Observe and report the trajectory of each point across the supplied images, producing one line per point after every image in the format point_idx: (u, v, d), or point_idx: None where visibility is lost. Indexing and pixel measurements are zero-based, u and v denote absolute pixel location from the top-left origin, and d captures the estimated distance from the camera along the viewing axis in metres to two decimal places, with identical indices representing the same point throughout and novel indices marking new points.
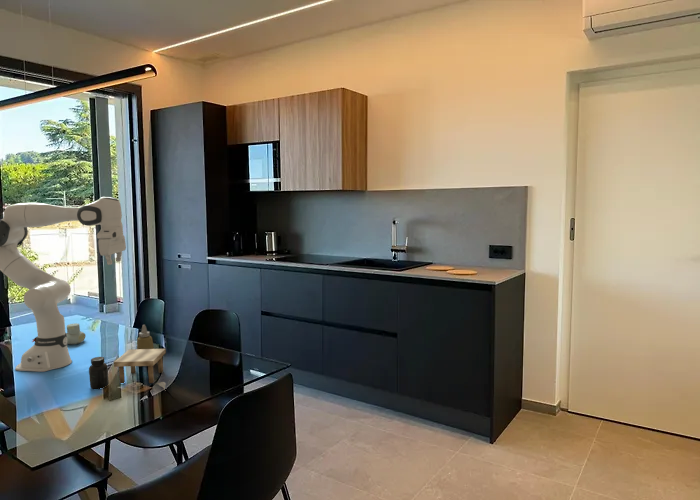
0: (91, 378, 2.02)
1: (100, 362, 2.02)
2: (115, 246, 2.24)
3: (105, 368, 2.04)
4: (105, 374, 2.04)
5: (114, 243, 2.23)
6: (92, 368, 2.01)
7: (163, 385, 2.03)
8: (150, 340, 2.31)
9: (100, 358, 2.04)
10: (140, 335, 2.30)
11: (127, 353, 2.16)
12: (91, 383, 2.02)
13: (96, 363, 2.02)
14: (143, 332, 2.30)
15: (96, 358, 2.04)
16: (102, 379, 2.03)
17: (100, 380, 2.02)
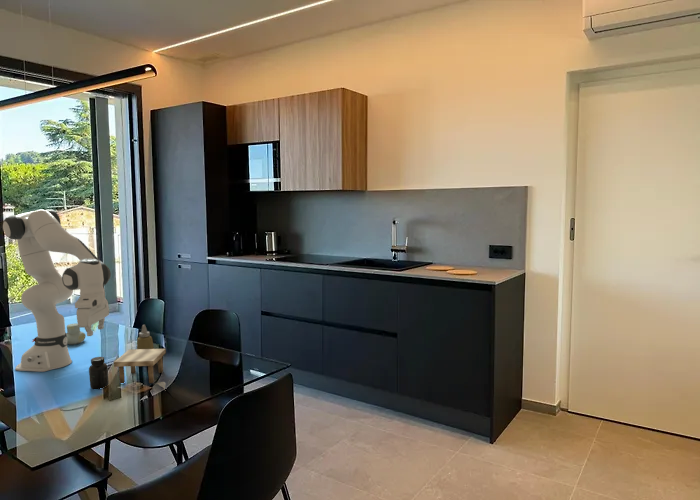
0: (91, 378, 2.02)
1: (100, 362, 2.02)
2: (96, 314, 2.00)
3: (105, 368, 2.04)
4: (105, 374, 2.04)
5: (95, 311, 1.99)
6: (92, 368, 2.01)
7: (163, 385, 2.03)
8: (150, 340, 2.31)
9: (100, 358, 2.04)
10: (140, 335, 2.30)
11: (127, 353, 2.16)
12: (91, 383, 2.02)
13: (96, 363, 2.02)
14: (143, 332, 2.30)
15: (96, 358, 2.03)
16: (102, 379, 2.03)
17: (100, 380, 2.02)
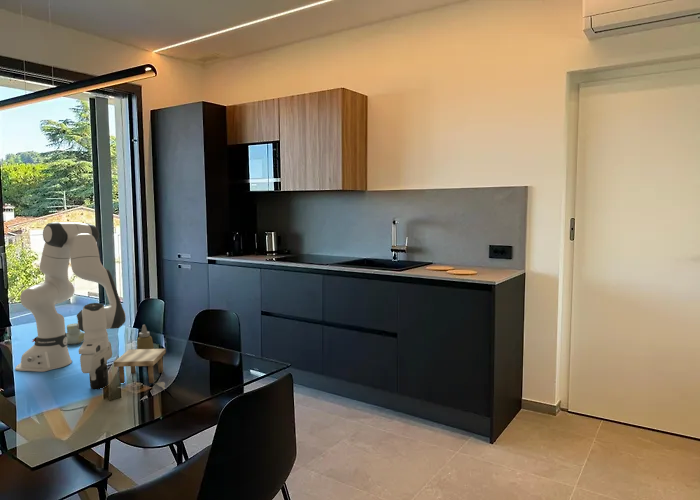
0: None
1: None
2: (99, 359, 2.02)
3: (105, 368, 2.04)
4: (105, 374, 2.04)
5: (98, 355, 2.01)
6: None
7: (162, 385, 2.03)
8: (150, 340, 2.31)
9: None
10: (140, 335, 2.30)
11: (127, 353, 2.16)
12: (91, 383, 2.02)
13: None
14: (143, 332, 2.30)
15: None
16: (102, 379, 2.03)
17: (100, 380, 2.02)
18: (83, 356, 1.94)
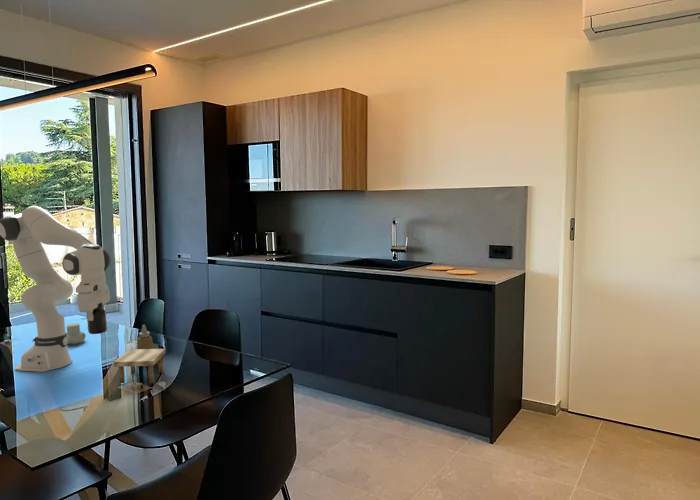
0: (89, 323, 1.99)
1: (98, 306, 2.00)
2: (97, 299, 1.99)
3: (103, 313, 2.01)
4: (103, 319, 2.01)
5: (96, 296, 1.99)
6: None
7: (163, 385, 2.03)
8: (150, 340, 2.31)
9: None
10: (140, 335, 2.30)
11: (127, 353, 2.16)
12: (89, 327, 2.00)
13: None
14: (143, 332, 2.30)
15: None
16: (101, 324, 2.00)
17: (99, 324, 2.00)
18: (80, 295, 1.92)
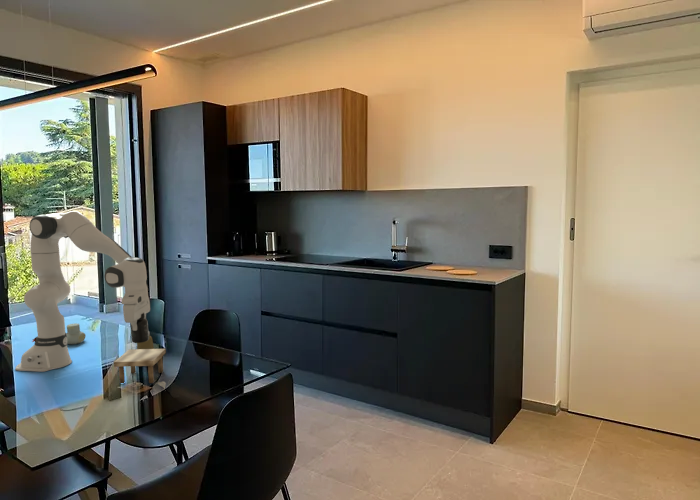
0: (132, 332, 2.09)
1: (141, 317, 2.10)
2: (140, 310, 2.09)
3: (146, 322, 2.11)
4: (146, 328, 2.11)
5: (139, 307, 2.09)
6: None
7: (163, 385, 2.03)
8: (150, 340, 2.31)
9: None
10: None
11: (127, 353, 2.16)
12: (133, 337, 2.10)
13: None
14: None
15: None
16: (144, 333, 2.10)
17: (142, 334, 2.10)
18: (126, 306, 2.02)
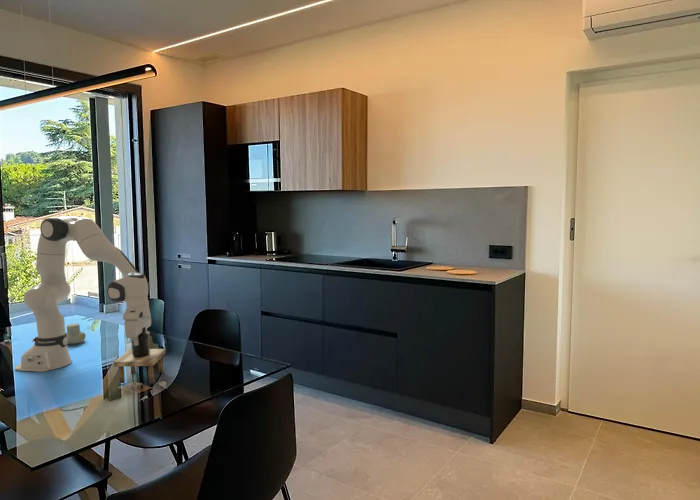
0: (133, 346, 2.10)
1: (142, 331, 2.11)
2: (141, 325, 2.10)
3: (147, 337, 2.12)
4: (147, 342, 2.12)
5: (140, 322, 2.10)
6: None
7: (163, 384, 2.03)
8: (150, 340, 2.31)
9: None
10: None
11: (127, 353, 2.16)
12: (134, 351, 2.10)
13: None
14: None
15: None
16: (145, 347, 2.11)
17: (143, 348, 2.11)
18: (127, 322, 2.03)
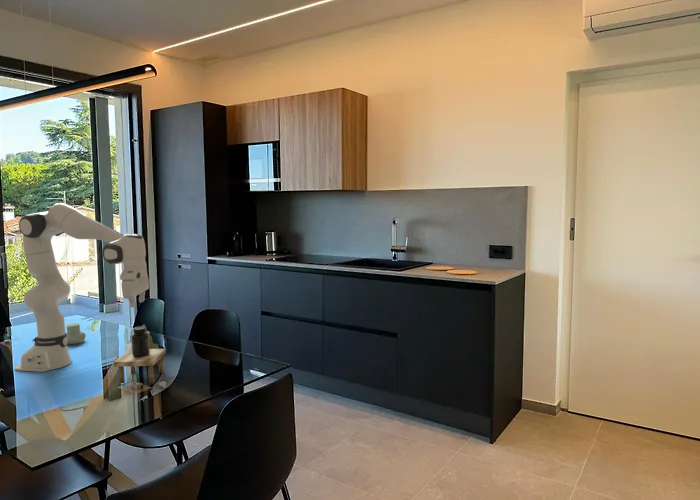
0: (133, 346, 2.10)
1: (142, 331, 2.11)
2: (139, 287, 2.08)
3: (147, 337, 2.12)
4: (147, 342, 2.12)
5: (138, 284, 2.08)
6: (135, 336, 2.10)
7: (163, 384, 2.03)
8: (150, 340, 2.31)
9: (142, 327, 2.12)
10: None
11: (127, 353, 2.16)
12: (134, 351, 2.10)
13: (139, 332, 2.10)
14: None
15: (138, 327, 2.12)
16: (145, 347, 2.11)
17: (143, 348, 2.11)
18: (124, 282, 2.00)
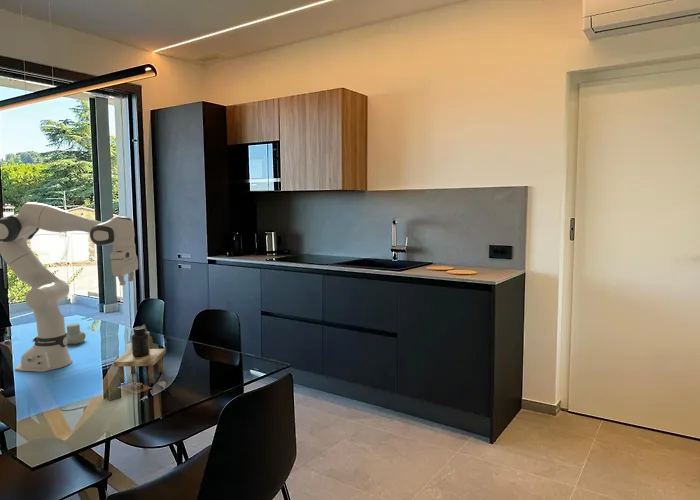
0: (133, 346, 2.10)
1: (142, 331, 2.11)
2: (128, 266, 2.20)
3: (147, 337, 2.12)
4: (147, 342, 2.12)
5: (127, 263, 2.19)
6: (135, 336, 2.10)
7: (163, 384, 2.03)
8: (150, 340, 2.31)
9: (142, 327, 2.12)
10: None
11: (127, 353, 2.16)
12: (134, 351, 2.10)
13: (139, 332, 2.10)
14: None
15: (138, 327, 2.12)
16: (145, 347, 2.11)
17: (143, 348, 2.11)
18: (114, 260, 2.12)
